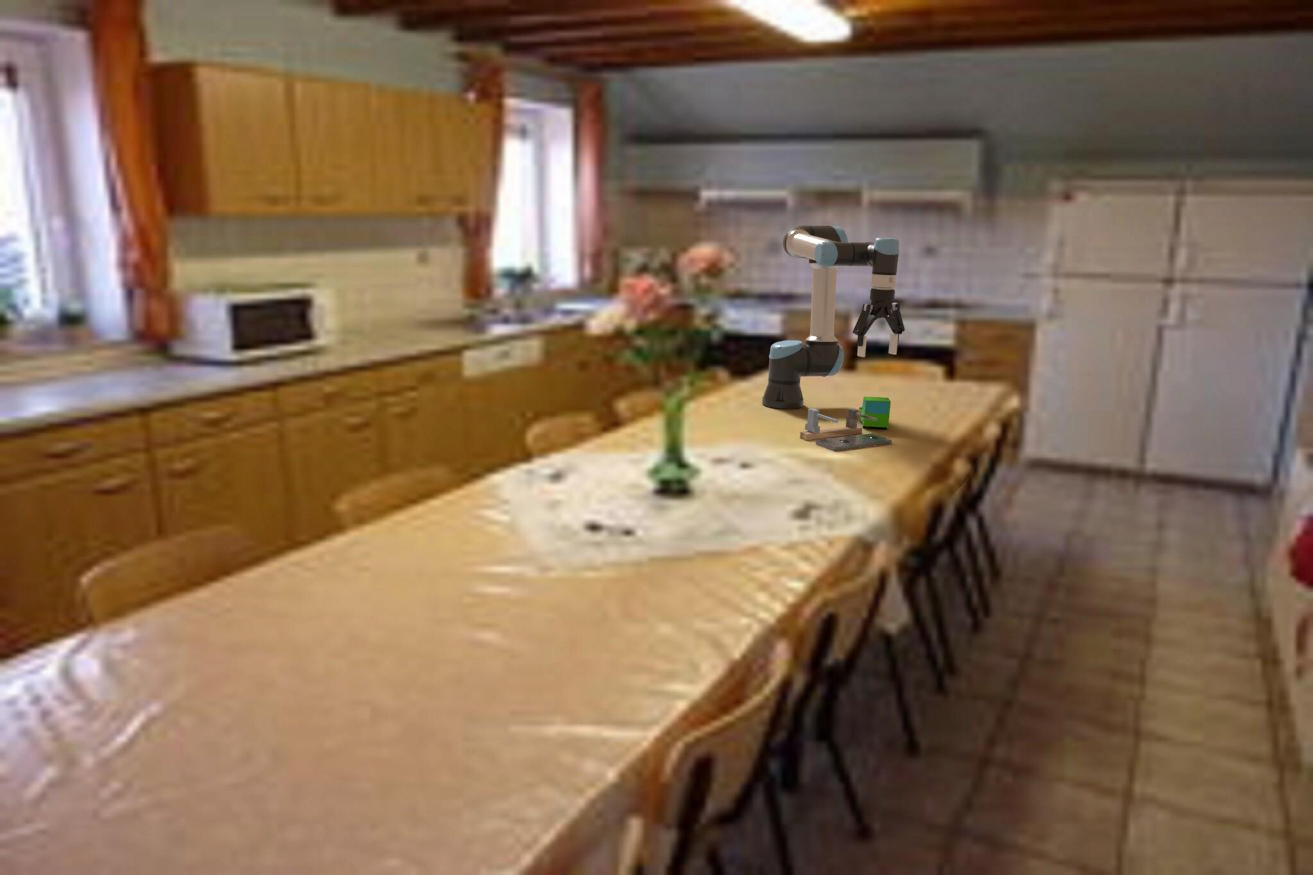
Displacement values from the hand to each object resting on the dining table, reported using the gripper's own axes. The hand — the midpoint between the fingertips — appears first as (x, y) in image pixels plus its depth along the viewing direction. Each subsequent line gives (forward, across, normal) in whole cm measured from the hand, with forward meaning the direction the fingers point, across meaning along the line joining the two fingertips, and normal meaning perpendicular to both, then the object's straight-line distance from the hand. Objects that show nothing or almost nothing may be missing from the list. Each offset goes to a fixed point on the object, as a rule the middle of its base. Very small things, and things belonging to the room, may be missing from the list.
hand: (876, 355), depth 301 cm
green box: (+26, +10, +9) cm, 30 cm away
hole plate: (+26, -13, -7) cm, 30 cm away
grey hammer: (+24, -21, 0) cm, 32 cm away
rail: (+26, -13, -1) cm, 29 cm away
